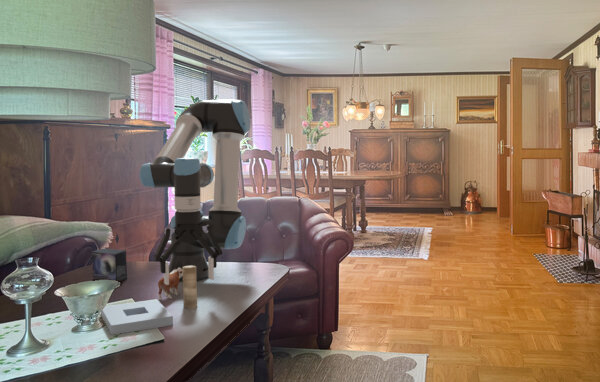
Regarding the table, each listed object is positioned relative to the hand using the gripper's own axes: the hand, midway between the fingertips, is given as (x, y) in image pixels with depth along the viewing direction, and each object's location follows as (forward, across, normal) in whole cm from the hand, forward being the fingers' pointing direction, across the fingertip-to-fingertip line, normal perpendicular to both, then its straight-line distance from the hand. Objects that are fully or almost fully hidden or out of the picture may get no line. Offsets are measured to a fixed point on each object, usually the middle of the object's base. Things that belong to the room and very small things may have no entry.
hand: (189, 281), depth 170 cm
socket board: (+8, -17, -4) cm, 19 cm away
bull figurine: (+8, -2, +14) cm, 17 cm away
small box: (+8, -16, +46) cm, 49 cm away
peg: (+8, 0, 0) cm, 8 cm away
